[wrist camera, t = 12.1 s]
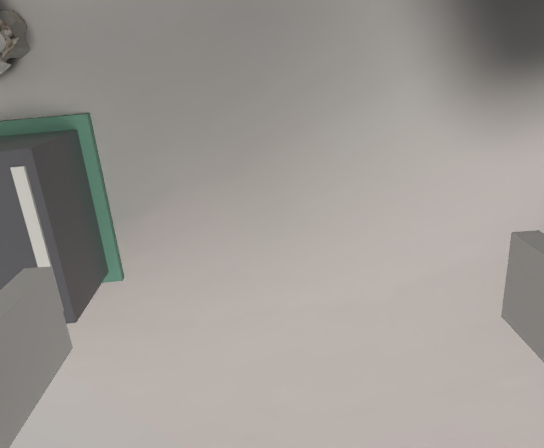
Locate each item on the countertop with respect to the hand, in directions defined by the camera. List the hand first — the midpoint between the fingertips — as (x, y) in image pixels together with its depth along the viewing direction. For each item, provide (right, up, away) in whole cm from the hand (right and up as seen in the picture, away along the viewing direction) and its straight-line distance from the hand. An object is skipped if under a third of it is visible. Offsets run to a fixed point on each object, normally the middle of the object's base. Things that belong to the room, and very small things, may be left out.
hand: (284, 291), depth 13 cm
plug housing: (-18, +3, +23) cm, 30 cm away
